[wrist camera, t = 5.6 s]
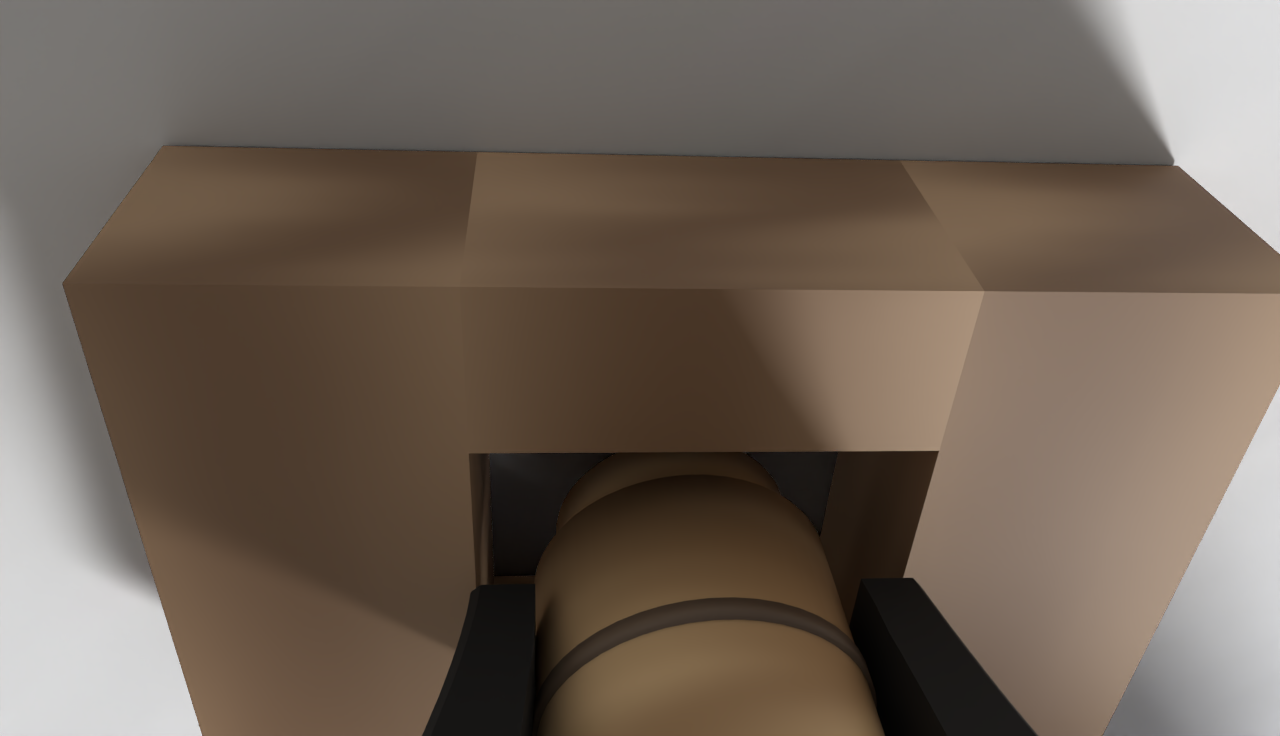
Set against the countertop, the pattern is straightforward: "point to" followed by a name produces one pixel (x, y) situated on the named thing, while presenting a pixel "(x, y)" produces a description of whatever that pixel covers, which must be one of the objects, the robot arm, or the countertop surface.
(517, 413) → the board
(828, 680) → the peg
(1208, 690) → the countertop surface
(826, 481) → the countertop surface
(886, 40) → the countertop surface
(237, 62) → the countertop surface
